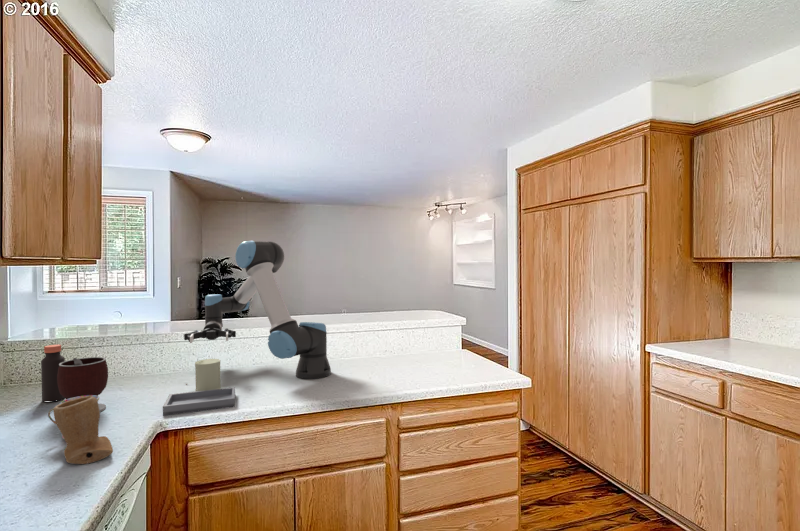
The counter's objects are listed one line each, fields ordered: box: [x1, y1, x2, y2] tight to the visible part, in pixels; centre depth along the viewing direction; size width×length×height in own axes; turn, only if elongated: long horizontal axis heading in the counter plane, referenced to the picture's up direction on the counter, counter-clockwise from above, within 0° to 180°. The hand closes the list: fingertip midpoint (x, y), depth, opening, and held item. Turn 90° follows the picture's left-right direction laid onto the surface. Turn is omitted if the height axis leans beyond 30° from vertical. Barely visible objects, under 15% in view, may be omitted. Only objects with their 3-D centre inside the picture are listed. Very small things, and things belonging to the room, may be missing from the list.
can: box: [194, 358, 222, 391], centre depth 167 cm, size 9×9×12 cm
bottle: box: [40, 344, 66, 402], centre depth 158 cm, size 7×7×20 cm
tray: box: [162, 386, 236, 416], centre depth 151 cm, size 22×14×3 cm, turn 110°
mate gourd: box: [57, 356, 109, 413], centre depth 145 cm, size 16×14×20 cm
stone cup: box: [52, 396, 114, 465], centre depth 112 cm, size 15×12×15 cm
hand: (209, 338), depth 176 cm, fingers open, 13 cm apart
